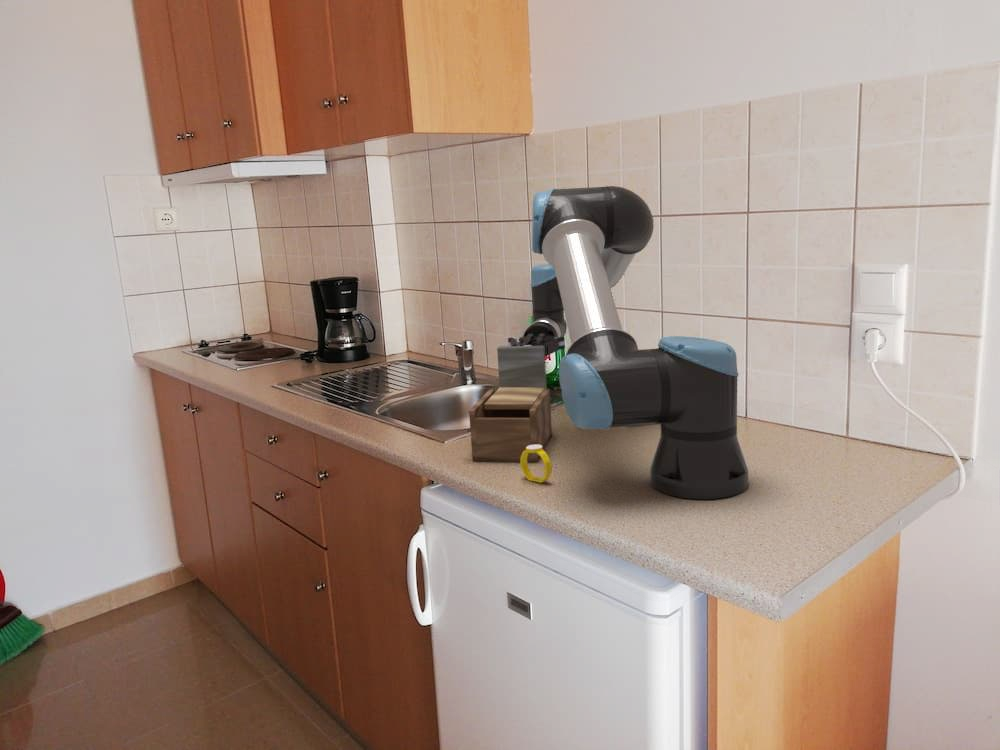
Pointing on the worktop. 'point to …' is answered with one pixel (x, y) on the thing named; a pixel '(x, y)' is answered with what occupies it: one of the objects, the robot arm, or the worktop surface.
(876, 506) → the worktop surface
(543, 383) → the lid
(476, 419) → the walnut box
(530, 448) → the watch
